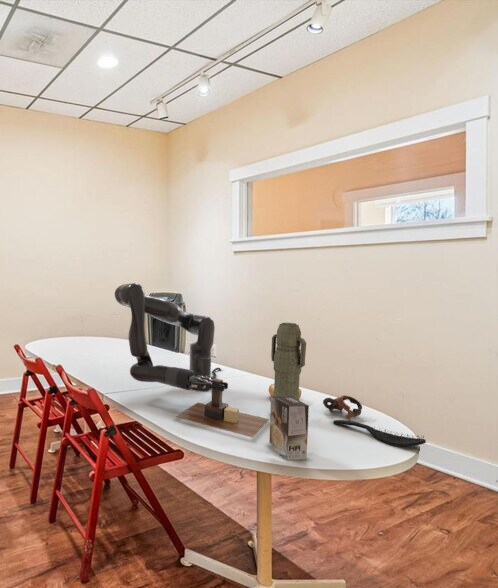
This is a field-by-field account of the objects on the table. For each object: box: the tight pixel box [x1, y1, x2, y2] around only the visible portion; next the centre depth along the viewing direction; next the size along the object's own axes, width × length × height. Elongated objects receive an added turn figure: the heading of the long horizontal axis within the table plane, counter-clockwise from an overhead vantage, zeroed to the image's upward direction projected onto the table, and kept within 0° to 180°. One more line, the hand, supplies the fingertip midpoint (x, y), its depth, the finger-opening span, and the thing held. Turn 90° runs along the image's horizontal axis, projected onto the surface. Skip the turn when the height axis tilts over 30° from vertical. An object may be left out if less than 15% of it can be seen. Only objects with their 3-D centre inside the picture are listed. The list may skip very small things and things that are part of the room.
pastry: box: [268, 383, 302, 400], centre depth 167 cm, size 12×12×9 cm
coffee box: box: [269, 396, 310, 461], centre depth 119 cm, size 9×6×16 cm
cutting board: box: [175, 402, 270, 438], centre depth 143 cm, size 20×26×2 cm
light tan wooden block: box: [224, 406, 240, 423], centre depth 141 cm, size 4×4×4 cm
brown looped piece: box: [322, 394, 363, 420], centre depth 150 cm, size 12×10×8 cm
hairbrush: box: [333, 419, 427, 447], centre depth 132 cm, size 8×4×25 cm
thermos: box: [270, 322, 307, 401], centre depth 146 cm, size 9×12×35 cm
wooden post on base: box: [204, 378, 229, 420], centre depth 144 cm, size 7×6×13 cm
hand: (225, 387), depth 142 cm, fingers closed on wooden post on base, 3 cm apart
